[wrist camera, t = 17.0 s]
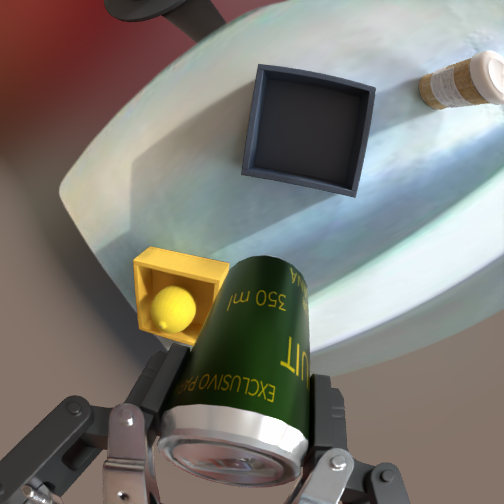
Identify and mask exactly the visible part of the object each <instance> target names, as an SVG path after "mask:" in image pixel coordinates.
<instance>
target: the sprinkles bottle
mask: <svg viewBox="0 0 504 504" xmlns="http://www.w3.org/2000/svg"><path fill="white" fill-rule="evenodd" d="M419 91H420V95H421V97H422V99H423V100H424V102H425V103H426V104H427V105H428V106H430V107H432V108H433V109H440V110H441V109H444V108H447V107H450V108H453V107H462V106H471V105H480V104H486V103H492V104H495V105H503V104H504V58H503V57H501V56H500V55H499V54H497V53H496V52H493V51H484V52H480V53H478V54H475V55H474V56H473V57H472V58H470V59H467V60H464V61H461V62H459V63H456V64H453V65H449V66H446V67H444V68H442V69H439V70H437V71H435V72H434V73H431V74H426V75H424V76H423V77H422V78H421V80H420V82H419Z"/></svg>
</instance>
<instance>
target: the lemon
mask: <svg viewBox="0 0 504 504" xmlns="http://www.w3.org/2000/svg"><path fill="white" fill-rule="evenodd" d="M196 308H197V304H196V299H195V297H194V295H193V293H192V292H191V291H190V290H189V289H188V288H186V287H184V286H181V285H169V286H167V287H165V288H163V289H162V290H161V291H160V292H159V293H158V294H157V295H156V296H155V298H154V300H153V302H152V305H151V310H150V315H151V319H152V322H153V323H154V325H155V326H156V327H157V328H158V329H159V330H160V331H162V332H165V333H169V334H174V333H178V332H180V331H182V330H184V329H185V328H186V327H187V326H188V325H189V324H190V323H191V322H192V320H193V318H194V316H195V314H196Z"/></svg>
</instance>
